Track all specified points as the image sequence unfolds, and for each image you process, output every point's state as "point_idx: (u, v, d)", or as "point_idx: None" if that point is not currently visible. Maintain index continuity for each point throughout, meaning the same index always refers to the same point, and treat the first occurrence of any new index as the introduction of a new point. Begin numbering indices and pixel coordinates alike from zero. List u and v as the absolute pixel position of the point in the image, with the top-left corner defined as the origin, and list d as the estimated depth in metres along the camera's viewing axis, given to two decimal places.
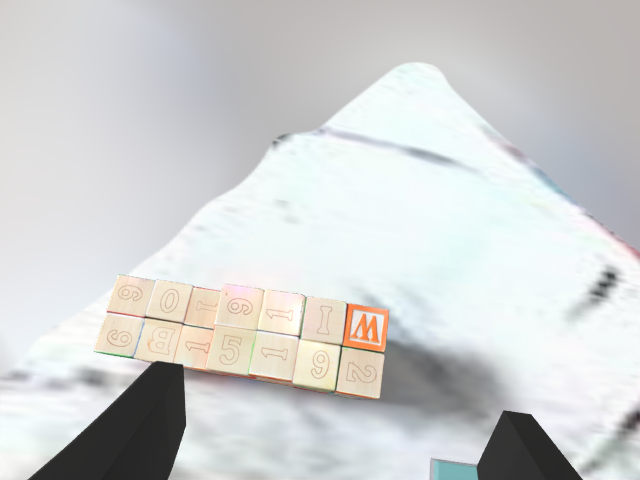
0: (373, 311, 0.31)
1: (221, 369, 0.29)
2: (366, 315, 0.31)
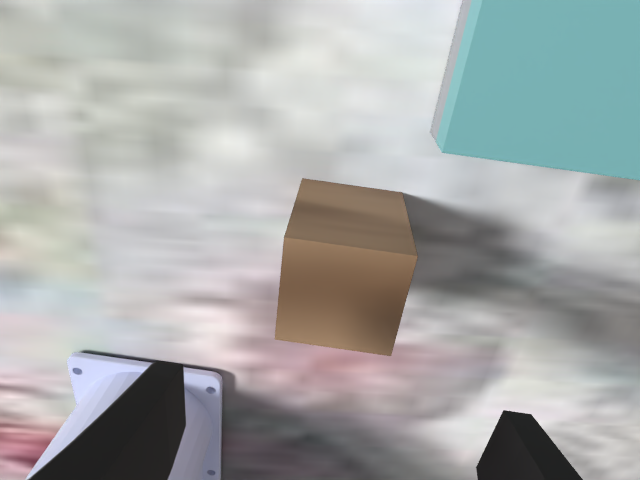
0: None
1: None
2: None
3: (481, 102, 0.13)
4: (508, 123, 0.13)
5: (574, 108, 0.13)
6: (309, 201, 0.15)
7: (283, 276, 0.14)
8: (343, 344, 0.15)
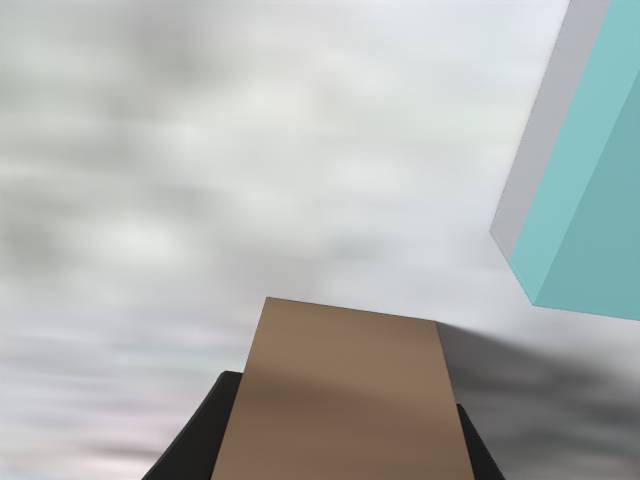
0: None
1: None
2: None
3: (631, 218, 0.06)
4: None
5: None
6: (271, 369, 0.08)
7: None
8: None
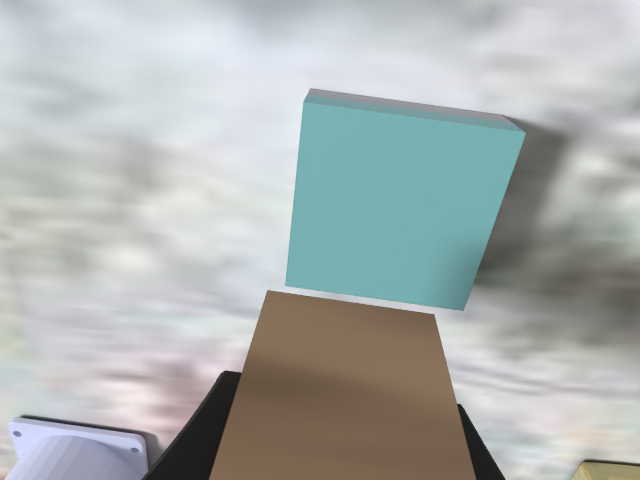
0: None
1: None
2: None
3: (309, 252, 0.16)
4: (333, 266, 0.16)
5: (382, 258, 0.16)
6: (272, 359, 0.08)
7: None
8: None
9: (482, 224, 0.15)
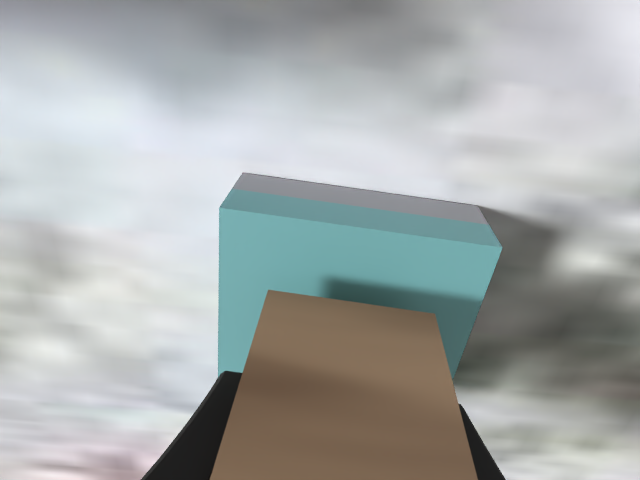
0: None
1: None
2: None
3: (242, 369, 0.13)
4: None
5: None
6: (273, 358, 0.08)
7: None
8: None
9: (451, 346, 0.12)
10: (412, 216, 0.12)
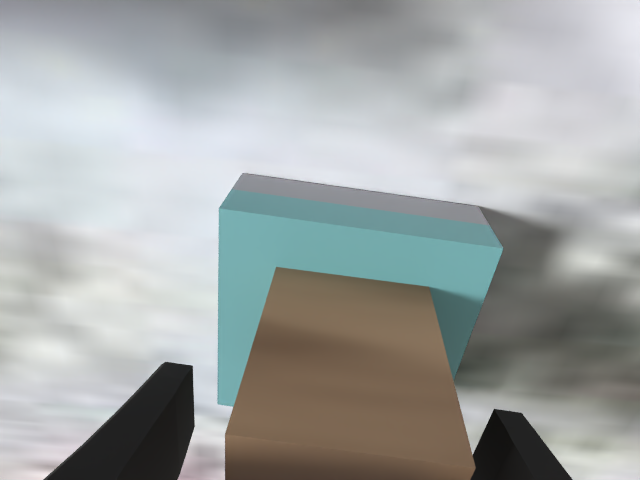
0: None
1: None
2: None
3: (242, 370, 0.13)
4: None
5: None
6: (281, 324, 0.09)
7: None
8: None
9: (451, 347, 0.12)
10: (412, 217, 0.11)
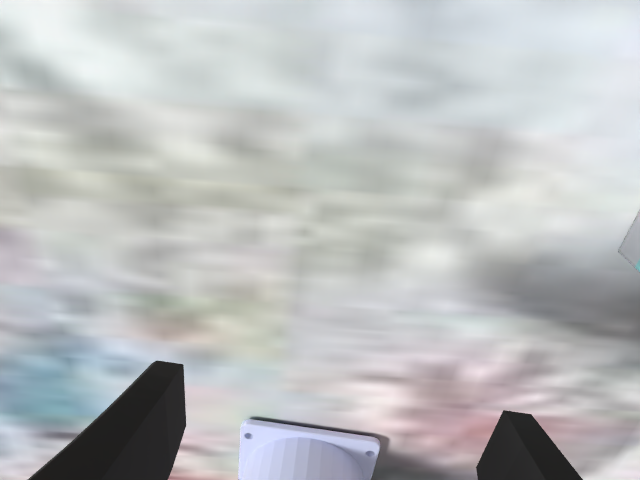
0: None
1: None
2: None
3: None
4: None
5: None
6: None
7: None
8: None
9: None
10: None
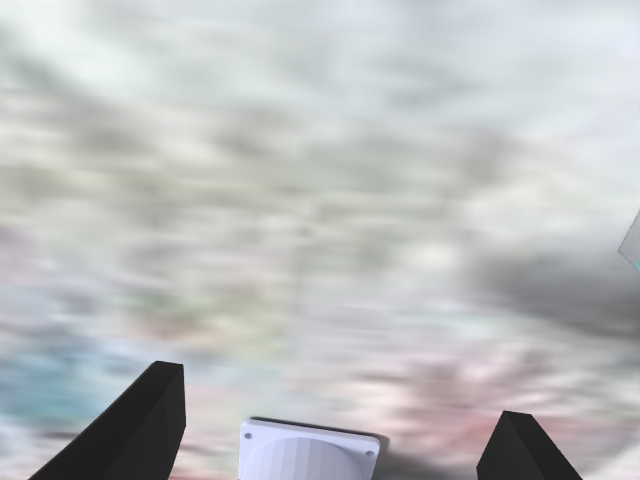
0: None
1: None
2: None
3: None
4: None
5: None
6: None
7: None
8: None
9: None
10: None
